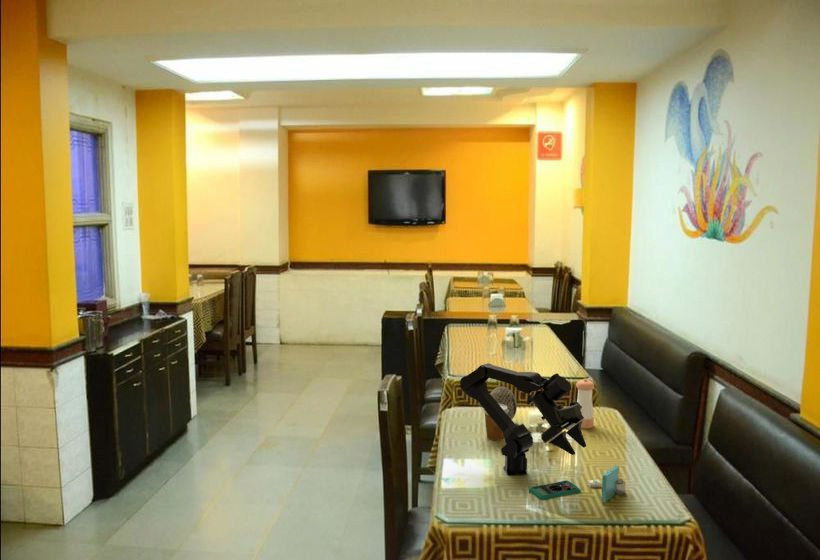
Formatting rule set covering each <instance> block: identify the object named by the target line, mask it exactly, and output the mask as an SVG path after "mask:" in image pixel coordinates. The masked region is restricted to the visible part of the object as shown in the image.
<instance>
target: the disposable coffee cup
mask: <svg viewBox="0 0 820 560" xmlns="http://www.w3.org/2000/svg"><path fill="white" fill-rule="evenodd" d="M499 405H500V407H501V408H502V409H503V410H504V411H505V413H506V414H508V412H509V410H508V408H507V406H506V405H503V404H499ZM482 411H483V414H484V420H485V429H486V437H487V439H488V438H489V440H490V441H502V440H504V435H503V432H502V431H501V429H500V428H499V427H498V426H497V425H496V423H495V422H494V421H493V420H492V418H491V417H490V416H489V415H488V413H487V412H486V411H485V410H484V408H482ZM501 439H502V440H501Z"/></svg>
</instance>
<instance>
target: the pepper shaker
mask: <svg viewBox="0 0 820 560" xmlns="http://www.w3.org/2000/svg"><path fill="white" fill-rule="evenodd" d="M575 386H576V388H577V400H576V401H577V402H578V403H579V404H580V405H581V406H582V408H581V413H582V416H583V417H584V419H582V420H581V421H582V423H581V429H585V430H586V429H591V428H594V416H593V415H594V407H593V406H594V405H593V390H594V388H595V383H594V382H593V381H591V380H589V379H588V378H583V379H580V380H578V381H577V382H576V384H575ZM581 421H580V422H581Z"/></svg>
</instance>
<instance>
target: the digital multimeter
mask: <svg viewBox="0 0 820 560" xmlns="http://www.w3.org/2000/svg"><path fill="white" fill-rule="evenodd" d="M528 493H529V494H532V495H534V496H535V497H536V498H538V499H539V500H542V501H544V500H548V499H552V498H558V497H563V496H567V495H572V494H579V493H581V489H580V488H579V487H578V486H577V485H575V484H574V483H573V482H571V481H570V480H562V481H558V482H557V481H555V482H552V483H546V484H541V485H535V486H530V487H529V488H528Z"/></svg>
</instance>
